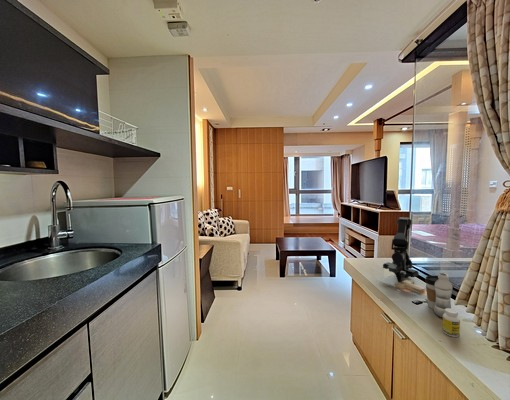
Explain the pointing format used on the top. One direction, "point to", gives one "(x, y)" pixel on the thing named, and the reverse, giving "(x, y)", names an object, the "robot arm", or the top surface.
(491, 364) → the top surface
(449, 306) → the plastic bottle
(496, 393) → the top surface
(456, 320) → the supplement bottle
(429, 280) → the coffee cup
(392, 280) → the grey flat panel
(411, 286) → the oak T block
